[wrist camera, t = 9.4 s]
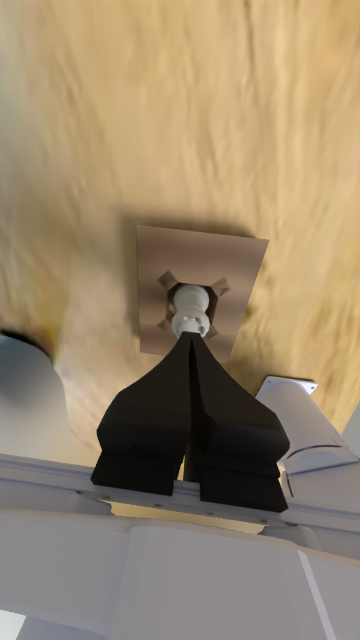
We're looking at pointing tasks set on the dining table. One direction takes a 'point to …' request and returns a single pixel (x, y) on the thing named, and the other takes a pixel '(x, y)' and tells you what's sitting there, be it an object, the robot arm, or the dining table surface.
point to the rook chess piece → (190, 309)
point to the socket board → (194, 282)
